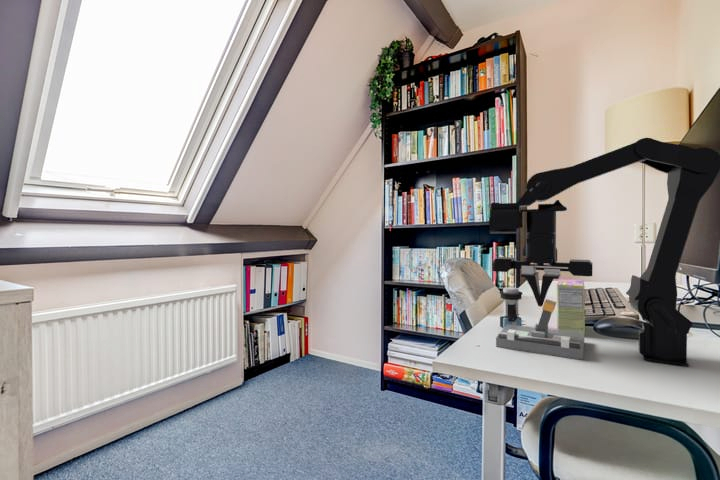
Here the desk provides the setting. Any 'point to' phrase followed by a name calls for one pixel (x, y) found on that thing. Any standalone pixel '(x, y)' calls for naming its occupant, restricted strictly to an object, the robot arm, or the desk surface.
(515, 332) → the breaker panel
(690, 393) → the desk surface
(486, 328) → the desk surface
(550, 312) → the lever
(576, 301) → the box
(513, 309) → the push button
